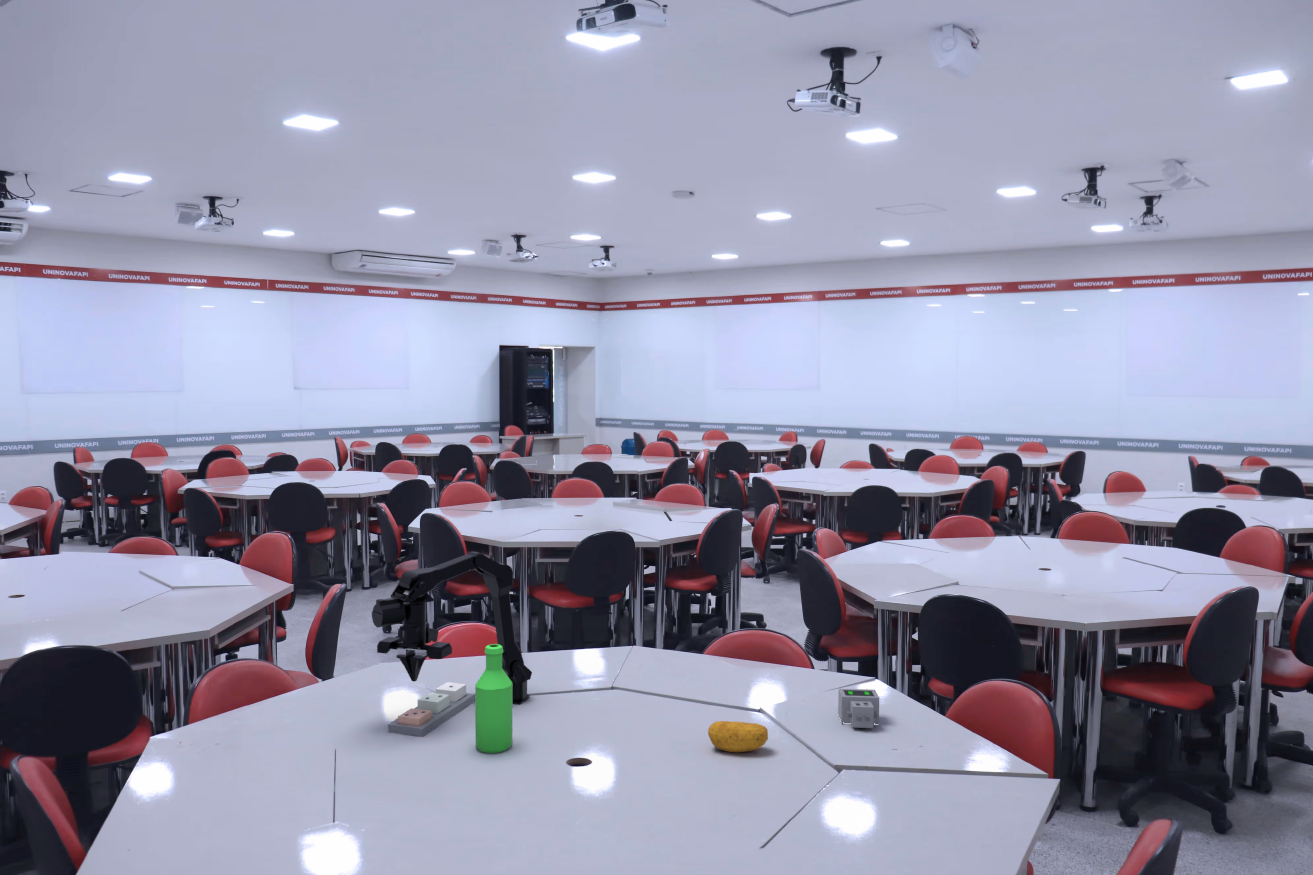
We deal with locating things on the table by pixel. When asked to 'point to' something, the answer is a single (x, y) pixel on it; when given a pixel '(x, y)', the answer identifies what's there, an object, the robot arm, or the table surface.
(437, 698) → the tile
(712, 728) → the potato
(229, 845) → the table surface
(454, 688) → the tile
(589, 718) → the table surface
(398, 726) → the board
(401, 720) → the tile
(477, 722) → the bottle
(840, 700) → the toy
